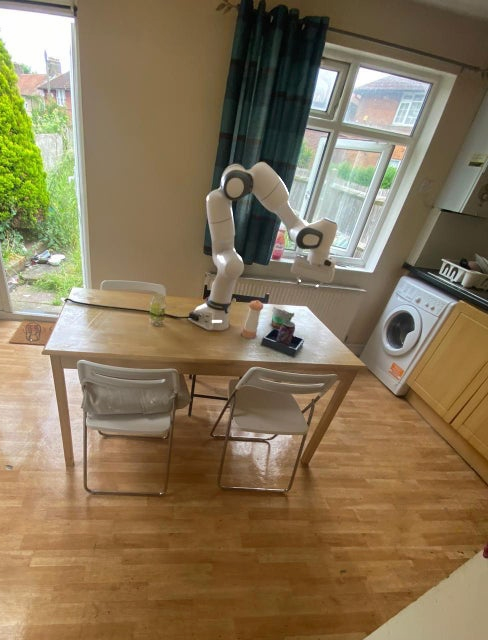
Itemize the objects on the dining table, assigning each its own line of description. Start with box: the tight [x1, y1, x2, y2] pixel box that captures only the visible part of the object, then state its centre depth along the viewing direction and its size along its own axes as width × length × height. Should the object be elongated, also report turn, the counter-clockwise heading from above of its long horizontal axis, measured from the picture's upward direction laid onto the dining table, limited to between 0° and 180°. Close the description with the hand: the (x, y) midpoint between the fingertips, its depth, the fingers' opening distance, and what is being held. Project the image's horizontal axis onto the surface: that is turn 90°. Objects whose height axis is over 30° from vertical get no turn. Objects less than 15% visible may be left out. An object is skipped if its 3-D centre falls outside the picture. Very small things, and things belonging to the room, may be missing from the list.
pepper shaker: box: [241, 299, 264, 339], centre depth 170 cm, size 7×7×19 cm
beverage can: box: [276, 321, 296, 346], centre depth 167 cm, size 7×7×12 cm
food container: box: [270, 306, 295, 330], centre depth 184 cm, size 12×6×10 cm, turn 62°
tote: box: [260, 327, 306, 358], centre depth 170 cm, size 18×15×4 cm
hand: (307, 286), depth 164 cm, fingers open, 8 cm apart
